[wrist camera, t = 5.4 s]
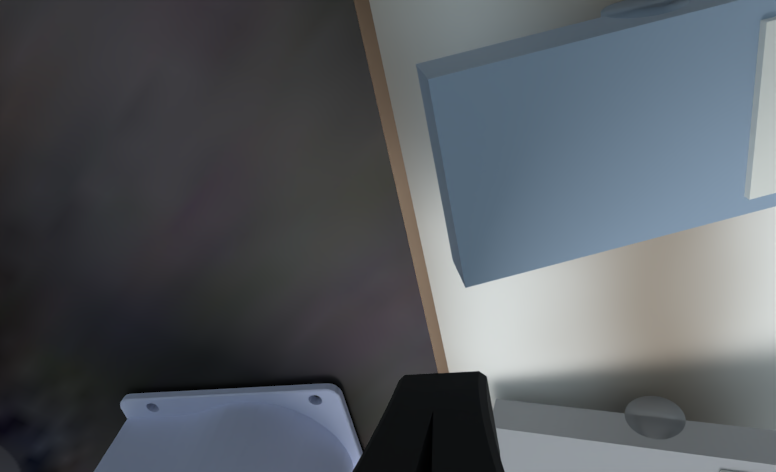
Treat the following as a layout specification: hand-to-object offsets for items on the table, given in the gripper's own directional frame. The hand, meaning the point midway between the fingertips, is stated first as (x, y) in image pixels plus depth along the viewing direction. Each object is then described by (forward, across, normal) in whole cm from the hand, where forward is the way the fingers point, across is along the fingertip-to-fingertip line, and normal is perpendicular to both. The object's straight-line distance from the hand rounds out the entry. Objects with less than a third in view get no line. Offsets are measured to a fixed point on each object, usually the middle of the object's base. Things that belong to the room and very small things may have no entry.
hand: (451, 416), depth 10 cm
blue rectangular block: (+5, -4, -3) cm, 7 cm away
